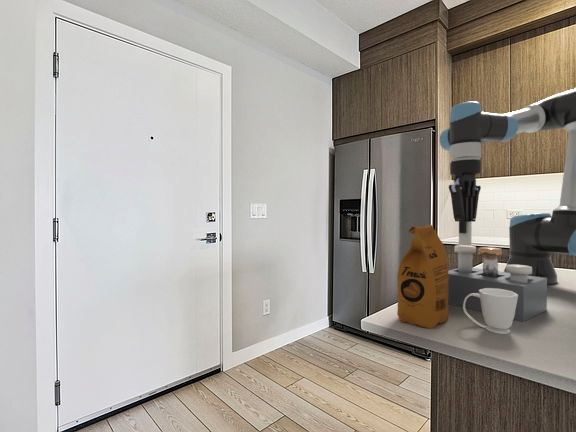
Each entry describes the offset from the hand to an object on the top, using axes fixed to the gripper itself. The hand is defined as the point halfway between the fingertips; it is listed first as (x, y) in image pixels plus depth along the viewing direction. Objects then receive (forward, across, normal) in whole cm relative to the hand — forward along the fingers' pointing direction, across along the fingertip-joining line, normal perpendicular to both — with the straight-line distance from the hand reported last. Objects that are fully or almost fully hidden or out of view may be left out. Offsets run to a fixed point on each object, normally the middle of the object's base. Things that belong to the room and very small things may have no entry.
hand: (465, 244), depth 90 cm
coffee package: (+16, +23, +2) cm, 28 cm away
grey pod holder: (+15, 0, +6) cm, 17 cm away
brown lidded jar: (+9, 0, +6) cm, 11 cm away
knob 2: (+13, 0, +13) cm, 18 cm away
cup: (+16, +17, +14) cm, 27 cm away
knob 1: (+9, 0, 0) cm, 9 cm away
